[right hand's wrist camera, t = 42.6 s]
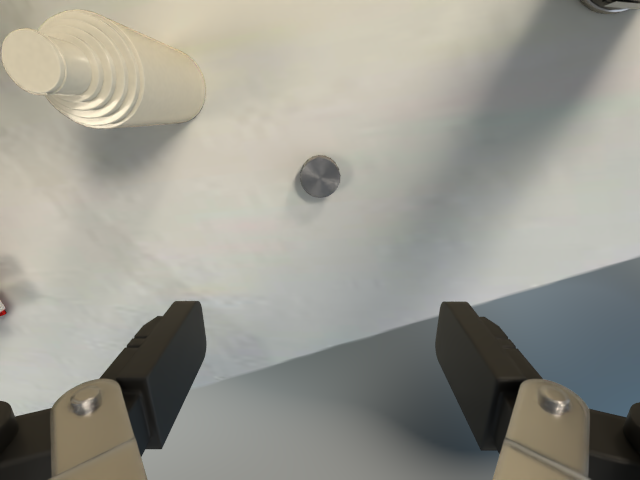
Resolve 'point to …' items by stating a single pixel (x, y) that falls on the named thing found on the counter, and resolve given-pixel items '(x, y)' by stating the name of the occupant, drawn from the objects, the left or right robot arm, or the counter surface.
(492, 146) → the counter surface
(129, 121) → the ribbed frosted cylinder
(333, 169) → the cap
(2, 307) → the toy
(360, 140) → the counter surface
